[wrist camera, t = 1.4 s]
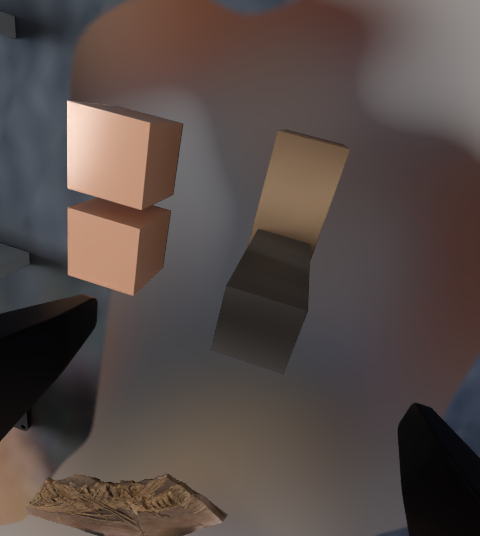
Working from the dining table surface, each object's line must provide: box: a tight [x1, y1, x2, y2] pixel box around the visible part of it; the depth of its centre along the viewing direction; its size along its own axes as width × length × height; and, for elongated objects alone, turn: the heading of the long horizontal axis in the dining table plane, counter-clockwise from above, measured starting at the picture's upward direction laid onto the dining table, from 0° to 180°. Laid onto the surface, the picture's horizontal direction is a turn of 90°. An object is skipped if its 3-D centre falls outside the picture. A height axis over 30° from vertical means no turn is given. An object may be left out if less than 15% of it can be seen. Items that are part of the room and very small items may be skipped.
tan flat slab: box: [25, 474, 227, 536], centre depth 34 cm, size 26×11×1 cm, turn 106°
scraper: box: [211, 130, 350, 374], centre depth 15 cm, size 11×3×10 cm, turn 167°
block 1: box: [67, 101, 183, 210], centre depth 17 cm, size 4×4×4 cm
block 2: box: [68, 197, 171, 296], centre depth 19 cm, size 4×4×4 cm
